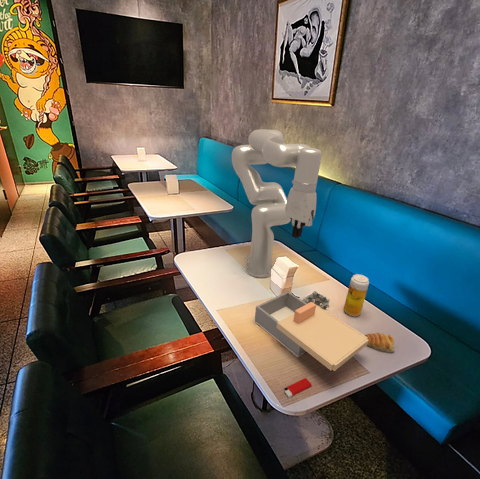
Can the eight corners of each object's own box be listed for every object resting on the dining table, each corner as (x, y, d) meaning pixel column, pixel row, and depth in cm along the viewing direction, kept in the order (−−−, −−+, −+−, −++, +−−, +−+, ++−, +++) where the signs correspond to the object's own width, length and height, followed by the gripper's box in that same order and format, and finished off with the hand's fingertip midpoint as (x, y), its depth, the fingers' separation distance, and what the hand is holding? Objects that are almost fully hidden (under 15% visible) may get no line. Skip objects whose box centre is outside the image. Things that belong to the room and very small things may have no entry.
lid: (276, 327, 95) (278, 312, 93) (312, 307, 106) (315, 293, 103) (332, 372, 80) (337, 355, 78) (368, 344, 91) (373, 328, 89)
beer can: (339, 309, 115) (348, 275, 109) (352, 305, 118) (361, 272, 111) (351, 318, 110) (360, 284, 104) (363, 315, 113) (373, 281, 106)
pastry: (364, 349, 97) (367, 340, 95) (360, 335, 103) (362, 326, 101) (394, 354, 96) (398, 345, 94) (388, 339, 102) (391, 330, 100)
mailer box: (254, 321, 106) (256, 306, 103) (285, 305, 115) (288, 291, 112) (297, 357, 92) (300, 340, 89) (329, 336, 101) (333, 320, 98)
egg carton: (315, 318, 110) (316, 309, 108) (298, 308, 115) (299, 299, 113) (330, 306, 117) (332, 297, 115) (313, 297, 121) (315, 289, 120)
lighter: (312, 384, 82) (288, 396, 78) (311, 387, 83) (288, 399, 79) (305, 376, 84) (282, 388, 81) (304, 380, 85) (281, 391, 81)
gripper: (280, 182, 103) (274, 231, 111) (314, 194, 93) (305, 247, 101) (295, 180, 108) (288, 227, 116) (329, 191, 97) (319, 242, 105)
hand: (296, 236), depth 108 cm, fingers closed
